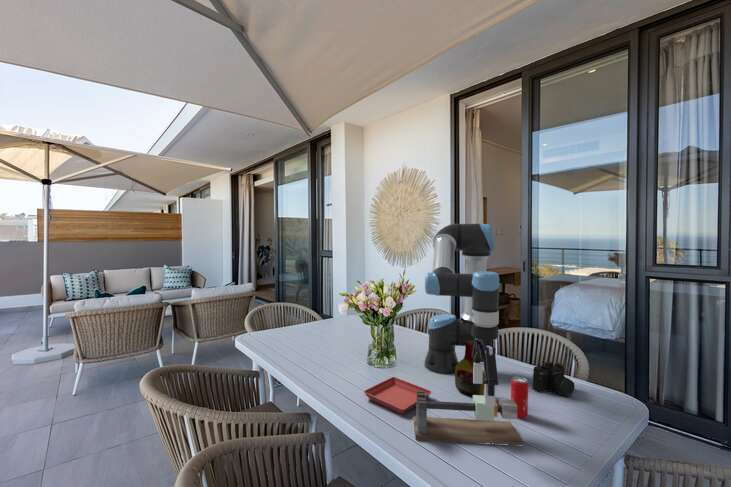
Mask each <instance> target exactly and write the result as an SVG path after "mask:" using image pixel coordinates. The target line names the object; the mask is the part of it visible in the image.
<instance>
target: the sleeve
mask: <svg viewBox="0 0 731 487" xmlns="http://www.w3.org/2000/svg"><path fill="white" fill-rule="evenodd" d="M484 397H485V395H483V396H482V395H473V397H472V403H475V405H476V411H472V413H473V415H474V417H475V420H486V421H495V417H494V406H485V405H484Z"/></svg>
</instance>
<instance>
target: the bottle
mask: <svg viewBox="0 0 731 487" xmlns="http://www.w3.org/2000/svg"><path fill="white" fill-rule="evenodd" d="M473 346H474V341H468V342H467V343H466V346H464V347H465V350H464V355H463V358H462V359H460V361H458V363H457V364H456V368H455V372H454V385H455V388H456V389H457V391H458V392H460V393H463V394H465V395H467V396H469V397H472V398H473V395H482V396H484V395H485V384H484V381H486V378H485V371H483V380H482V384H474V383H473V368H474V363H475V362H474V361H473V358H472V352H473Z"/></svg>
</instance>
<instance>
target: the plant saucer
mask: <svg viewBox="0 0 731 487" xmlns="http://www.w3.org/2000/svg"><path fill="white" fill-rule="evenodd" d="M417 390H424V391H425V398H426V399H427V398H428V397H429V396H430V395H431V394H432V391H431V390H430V389H427V388H424V387H422V386H419V385H416V384H414V383H411V382H409V381H406V380H403V379H400V378H399V377H395V376H391V377H389V378H388V379H386V380H384V381H382V382H379V383H377V384H375V385H372V386H371V387H369V388H367V389H365V390H364V391H363V393H364V395H365V396H366V397H367V398H368V399H369V400H370V401H372V402H375V403H377V404H379V405H381V406H383V407H385V408H388V409H390V410H392V411H394V412H396V413H397V414H405V413H406V412H407V411H409V410H411V409H412V408H413V407H416V406H417Z"/></svg>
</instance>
